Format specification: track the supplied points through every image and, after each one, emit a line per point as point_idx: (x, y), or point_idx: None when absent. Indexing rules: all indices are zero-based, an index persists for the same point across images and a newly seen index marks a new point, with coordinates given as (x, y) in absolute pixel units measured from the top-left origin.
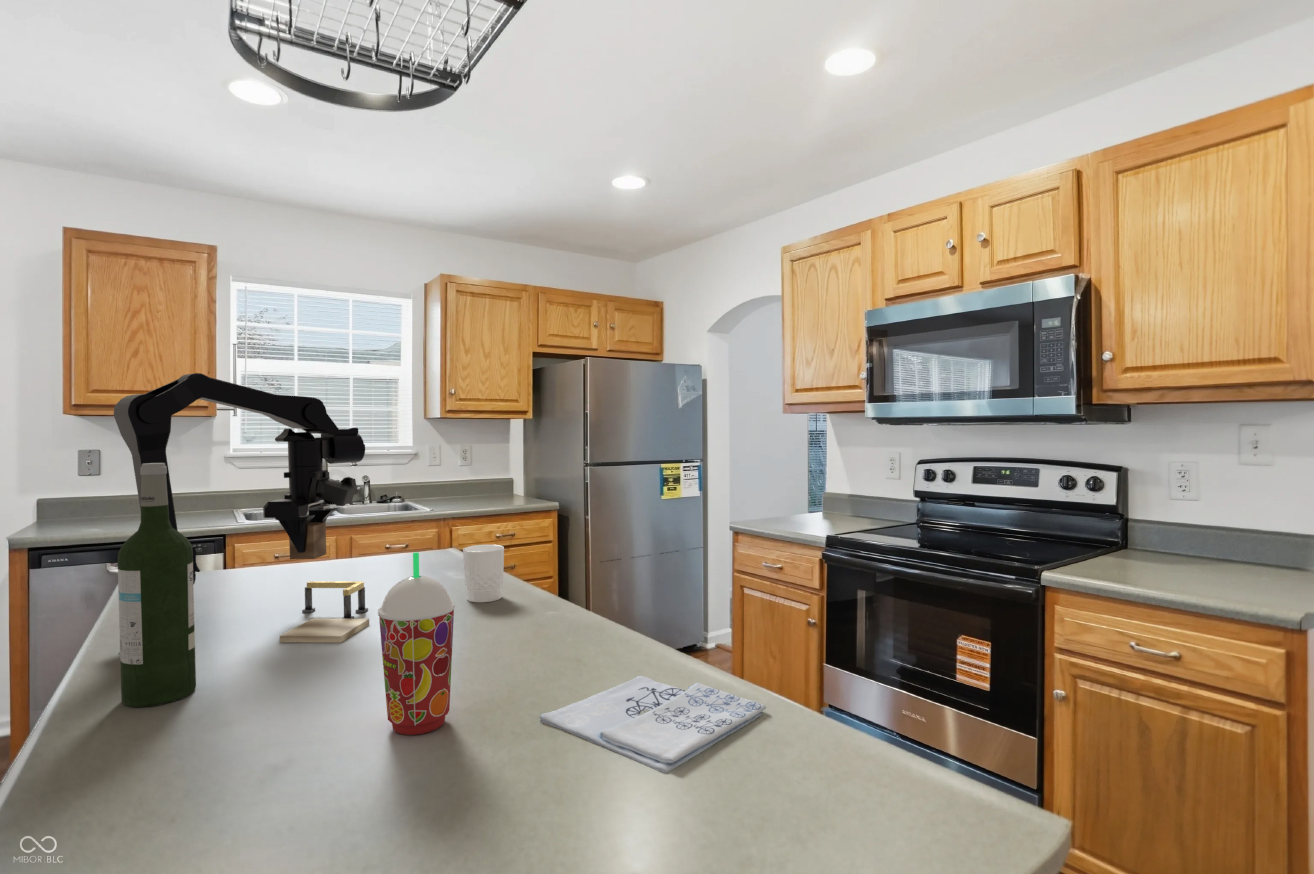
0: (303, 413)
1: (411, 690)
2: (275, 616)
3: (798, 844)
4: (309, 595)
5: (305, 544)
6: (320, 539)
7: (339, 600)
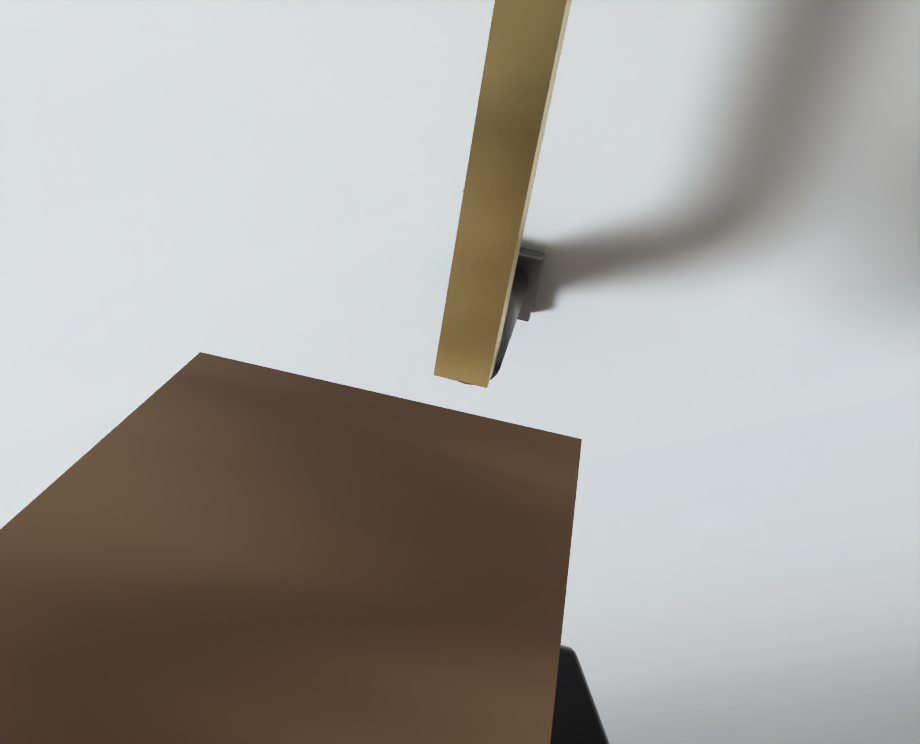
0: None
1: None
2: (590, 453)
3: None
4: (507, 313)
5: (556, 742)
6: (252, 584)
7: (193, 137)
